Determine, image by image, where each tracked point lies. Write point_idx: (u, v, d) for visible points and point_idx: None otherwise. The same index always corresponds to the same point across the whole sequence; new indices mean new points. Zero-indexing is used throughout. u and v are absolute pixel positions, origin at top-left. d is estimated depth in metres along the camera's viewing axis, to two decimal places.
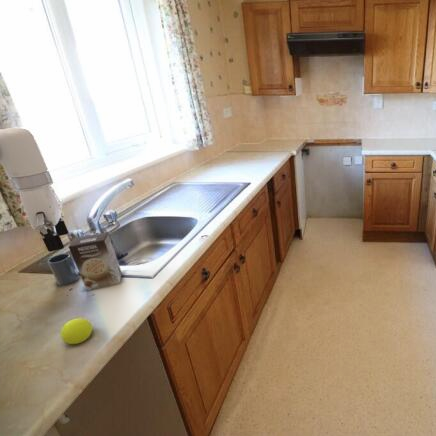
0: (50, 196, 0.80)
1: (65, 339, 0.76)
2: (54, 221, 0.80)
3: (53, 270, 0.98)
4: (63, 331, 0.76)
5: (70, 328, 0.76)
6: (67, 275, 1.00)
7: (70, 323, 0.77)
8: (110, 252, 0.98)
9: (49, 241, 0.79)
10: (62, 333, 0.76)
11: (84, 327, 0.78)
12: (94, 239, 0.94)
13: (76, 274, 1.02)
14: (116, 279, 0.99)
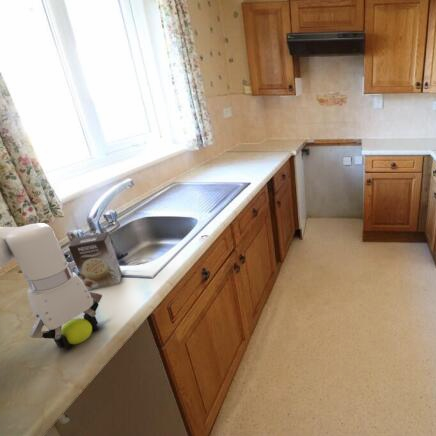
0: (57, 299, 0.72)
1: None
2: (49, 327, 0.72)
3: None
4: (63, 331, 0.76)
5: (70, 328, 0.76)
6: None
7: (70, 323, 0.77)
8: (110, 252, 0.98)
9: (54, 340, 0.75)
10: (62, 333, 0.76)
11: (84, 328, 0.78)
12: (94, 239, 0.94)
13: None
14: (116, 279, 0.99)
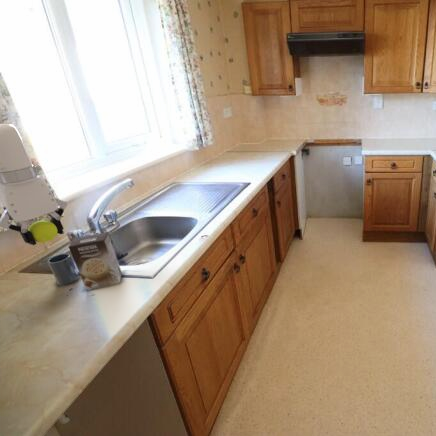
0: (22, 194, 0.80)
1: None
2: (15, 218, 0.80)
3: (53, 270, 0.98)
4: (30, 228, 0.85)
5: (36, 226, 0.85)
6: (67, 275, 1.00)
7: (36, 222, 0.86)
8: (110, 252, 0.98)
9: None
10: (29, 230, 0.85)
11: (49, 227, 0.87)
12: (94, 239, 0.94)
13: (76, 274, 1.02)
14: (116, 279, 0.99)
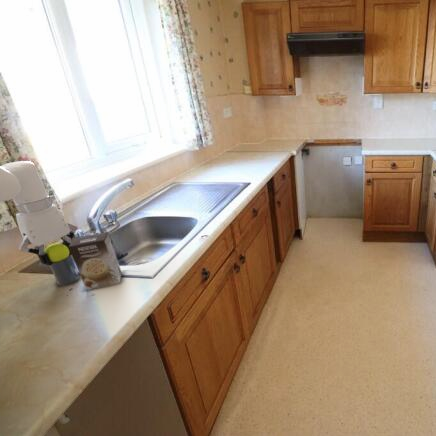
0: (39, 222, 0.92)
1: None
2: (34, 243, 0.92)
3: (53, 270, 0.98)
4: (45, 251, 0.96)
5: (51, 248, 0.96)
6: (67, 275, 1.00)
7: (51, 245, 0.97)
8: (110, 252, 0.98)
9: (39, 257, 0.95)
10: (45, 252, 0.96)
11: (62, 249, 0.98)
12: (94, 239, 0.94)
13: (76, 274, 1.02)
14: (116, 279, 0.99)
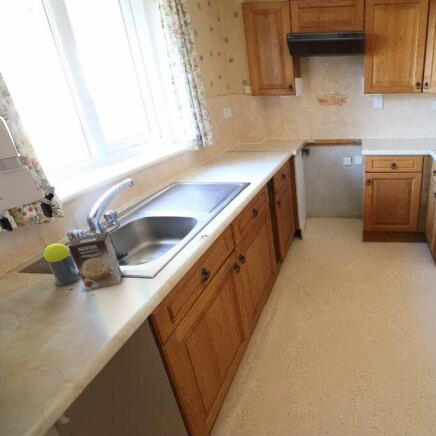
0: (8, 182, 0.84)
1: (46, 257, 0.96)
2: (1, 205, 0.84)
3: (53, 270, 0.98)
4: (45, 251, 0.96)
5: (50, 249, 0.96)
6: (67, 275, 1.00)
7: (50, 245, 0.97)
8: (110, 252, 0.98)
9: None
10: (44, 253, 0.96)
11: (62, 250, 0.98)
12: (94, 239, 0.94)
13: (76, 274, 1.02)
14: (116, 279, 0.99)
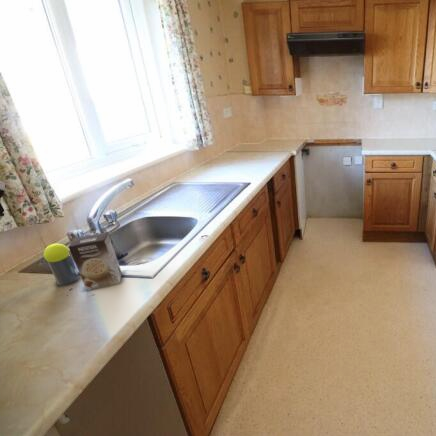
0: None
1: (46, 257, 0.96)
2: None
3: (53, 270, 0.98)
4: (45, 251, 0.96)
5: (50, 249, 0.96)
6: (67, 275, 1.00)
7: (50, 245, 0.97)
8: (110, 252, 0.97)
9: None
10: (44, 253, 0.96)
11: (62, 250, 0.98)
12: (94, 239, 0.94)
13: (76, 274, 1.02)
14: (116, 279, 0.99)
